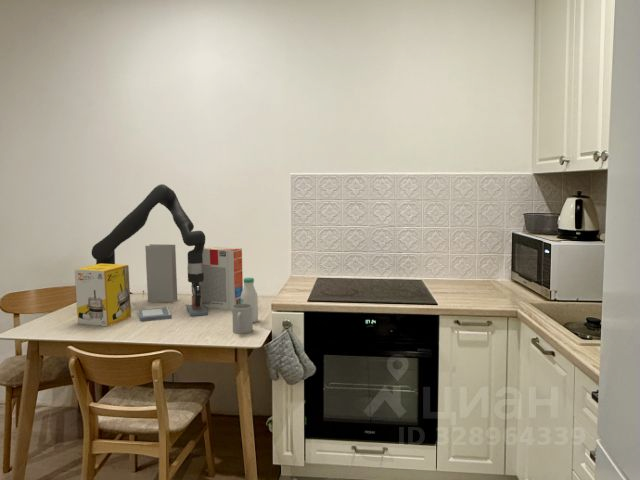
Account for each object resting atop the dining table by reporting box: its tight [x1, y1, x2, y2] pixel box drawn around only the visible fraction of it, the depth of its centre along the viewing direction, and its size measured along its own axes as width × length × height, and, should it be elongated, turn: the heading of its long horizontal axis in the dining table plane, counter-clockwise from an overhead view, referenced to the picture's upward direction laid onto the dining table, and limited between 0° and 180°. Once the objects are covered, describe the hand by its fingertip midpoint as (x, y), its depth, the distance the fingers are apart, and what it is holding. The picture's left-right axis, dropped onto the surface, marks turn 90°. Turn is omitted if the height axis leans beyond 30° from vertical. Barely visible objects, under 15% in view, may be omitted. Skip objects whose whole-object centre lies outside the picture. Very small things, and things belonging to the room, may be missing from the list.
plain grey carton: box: [145, 244, 178, 303], centre depth 274 cm, size 14×6×30 cm, turn 84°
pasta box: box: [199, 245, 244, 311], centre depth 262 cm, size 23×8×30 cm, turn 69°
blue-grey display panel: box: [138, 306, 172, 322], centre depth 246 cm, size 14×16×2 cm
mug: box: [231, 304, 254, 335], centre depth 220 cm, size 12×8×11 cm
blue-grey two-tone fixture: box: [185, 295, 209, 317], centre depth 253 cm, size 8×16×8 cm, turn 21°
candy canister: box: [241, 277, 259, 323], centre depth 235 cm, size 8×8×20 cm
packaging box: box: [74, 263, 132, 327], centre depth 238 cm, size 16×16×25 cm
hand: (196, 304), depth 253 cm, fingers open, 8 cm apart
